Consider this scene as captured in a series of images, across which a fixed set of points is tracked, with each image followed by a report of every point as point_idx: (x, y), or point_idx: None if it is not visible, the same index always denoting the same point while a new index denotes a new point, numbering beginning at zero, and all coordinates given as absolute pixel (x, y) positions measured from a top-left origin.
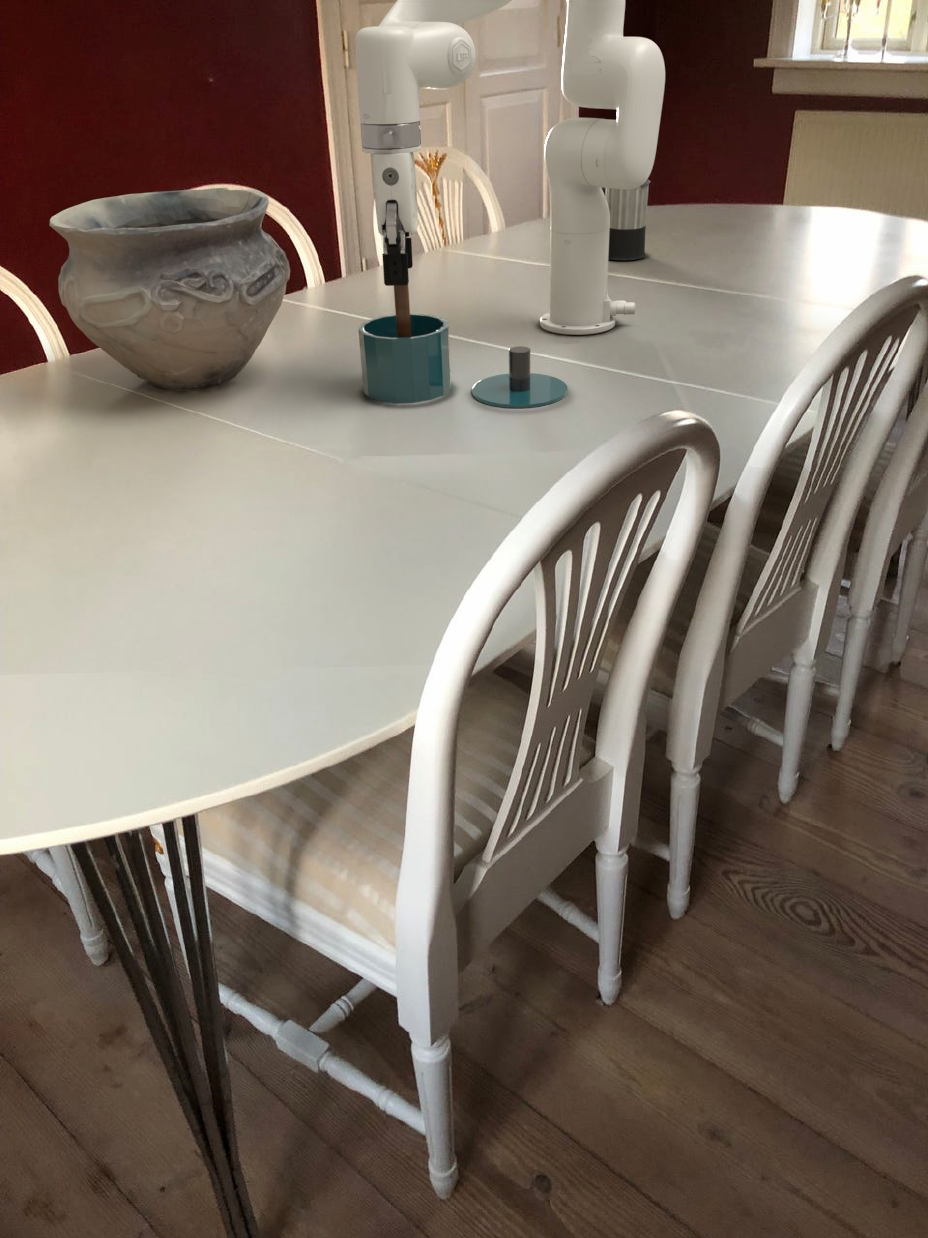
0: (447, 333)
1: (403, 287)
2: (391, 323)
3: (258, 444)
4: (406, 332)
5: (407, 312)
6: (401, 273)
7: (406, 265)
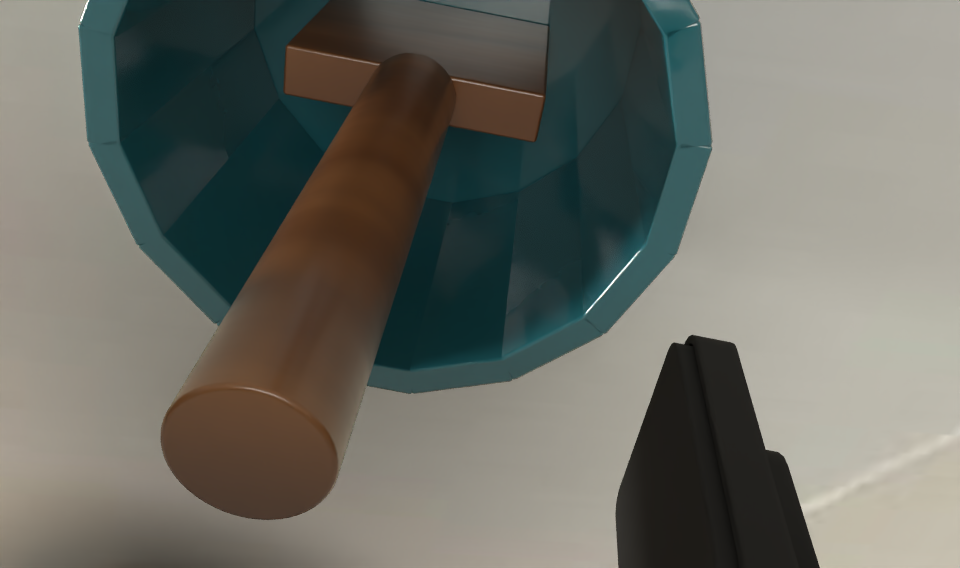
0: None
1: (393, 277)
2: (162, 171)
3: (825, 552)
4: (440, 121)
5: (415, 159)
6: (792, 481)
7: (771, 482)
